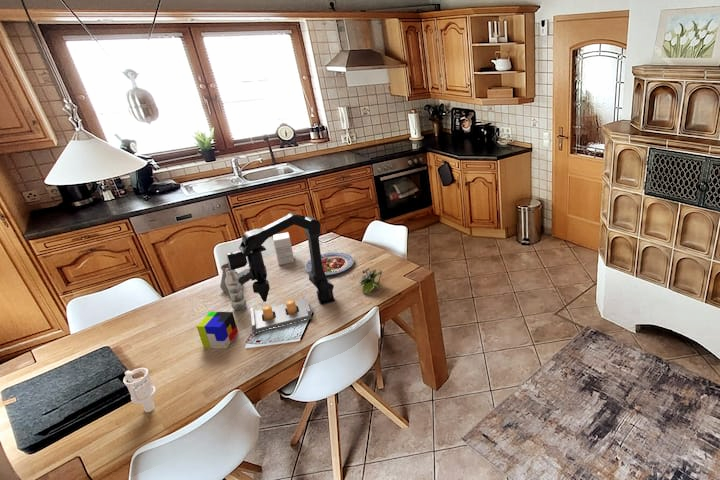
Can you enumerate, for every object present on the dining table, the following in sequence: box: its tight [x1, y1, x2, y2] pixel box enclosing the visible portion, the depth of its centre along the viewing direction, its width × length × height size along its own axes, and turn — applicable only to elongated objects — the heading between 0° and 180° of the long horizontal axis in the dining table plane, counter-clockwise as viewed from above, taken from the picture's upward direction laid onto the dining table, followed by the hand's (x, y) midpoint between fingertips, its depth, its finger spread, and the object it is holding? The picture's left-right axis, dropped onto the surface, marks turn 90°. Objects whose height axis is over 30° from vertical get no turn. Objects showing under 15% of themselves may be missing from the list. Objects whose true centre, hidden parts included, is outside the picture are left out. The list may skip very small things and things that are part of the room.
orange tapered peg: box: [285, 299, 298, 315], centre depth 171 cm, size 4×4×6 cm
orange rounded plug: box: [261, 305, 275, 321], centre depth 168 cm, size 4×4×6 cm
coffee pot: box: [219, 262, 244, 294], centre depth 200 cm, size 21×12×15 cm, turn 143°
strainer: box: [122, 367, 157, 413], centre depth 127 cm, size 7×7×15 cm
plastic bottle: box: [225, 268, 247, 311], centre depth 177 cm, size 6×7×20 cm
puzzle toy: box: [196, 311, 239, 349], centre depth 159 cm, size 10×10×10 cm
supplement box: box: [272, 231, 295, 266], centre depth 220 cm, size 9×9×15 cm
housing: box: [250, 294, 313, 334], centre depth 170 cm, size 24×14×4 cm, turn 107°
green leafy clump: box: [358, 268, 383, 294], centre depth 183 cm, size 11×11×12 cm
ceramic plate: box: [304, 251, 355, 276], centre depth 210 cm, size 26×26×3 cm
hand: (264, 296), depth 165 cm, fingers open, 9 cm apart
